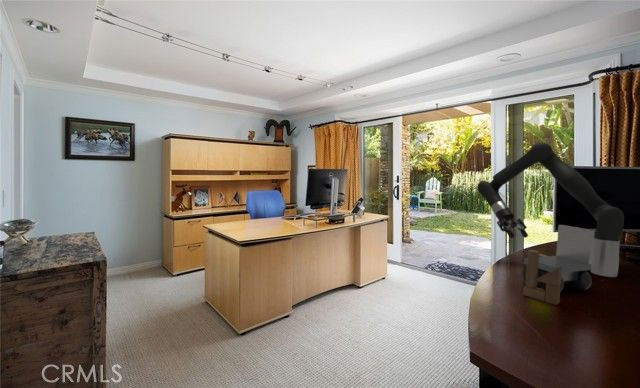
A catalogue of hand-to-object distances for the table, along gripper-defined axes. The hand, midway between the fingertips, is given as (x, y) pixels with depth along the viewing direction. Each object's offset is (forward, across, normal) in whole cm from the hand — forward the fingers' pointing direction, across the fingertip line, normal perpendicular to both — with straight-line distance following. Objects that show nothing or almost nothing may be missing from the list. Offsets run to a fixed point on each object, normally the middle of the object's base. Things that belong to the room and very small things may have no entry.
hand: (519, 237), depth 151 cm
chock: (+20, 0, +2) cm, 20 cm away
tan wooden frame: (+34, -26, -12) cm, 44 cm away
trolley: (+28, -8, -6) cm, 30 cm away
